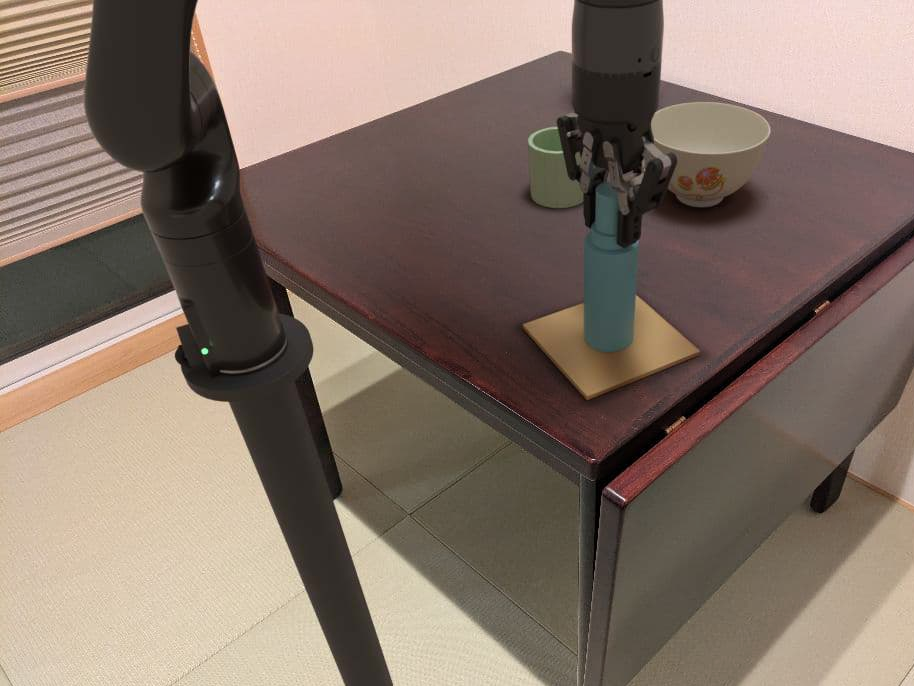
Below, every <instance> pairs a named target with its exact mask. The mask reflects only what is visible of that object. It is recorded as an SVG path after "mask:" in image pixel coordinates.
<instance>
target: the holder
mask: <svg viewBox="0 0 914 686" xmlns="http://www.w3.org/2000/svg"><path fill="white" fill-rule="evenodd" d="M527 148H528V149H527V150H528V151H527V152H528V171H529V172H528V173H529V190H530V197H531V200H532V201H533V202H534V203H536V204H537V205H539V206H542V207H544V208H550V209H567V208H571V207H575V206H579V205H580V204H582V203H583V192H582V191H581V189H580V186H579V185H580V183H579V182H578V181H577V180H574V181H572V180H570V178H569V177H568V174H567V169H566V164H565V160H564V155H563V150H562V146H561V141H560V136H559V132H558V127H557V126H551V127H550V126H549V127H546V128H542V129H539V130H537V131H535V132H533V133H531V134H530V136H529V137H528V138H527ZM575 157H576V162H577V165H579V164H580V162H581V156H580V152H577V153H576V155H575Z"/></svg>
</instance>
